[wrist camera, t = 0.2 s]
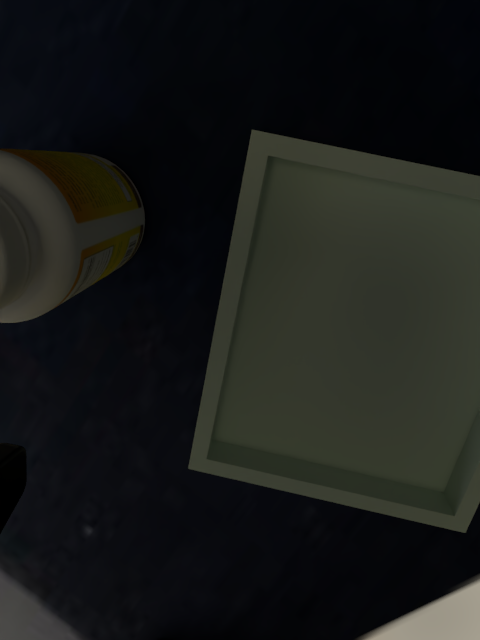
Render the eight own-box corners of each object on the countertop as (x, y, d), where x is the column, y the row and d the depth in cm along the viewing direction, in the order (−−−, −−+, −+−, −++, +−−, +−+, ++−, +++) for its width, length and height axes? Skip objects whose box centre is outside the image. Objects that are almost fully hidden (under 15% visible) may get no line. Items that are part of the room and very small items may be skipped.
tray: (448, 497, 25) (465, 532, 22) (197, 440, 25) (188, 468, 23) (577, 199, 19) (618, 204, 17) (256, 133, 20) (251, 129, 17)
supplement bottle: (32, 148, 21) (-186, 134, 11) (149, 158, 21) (26, 150, 11) (40, 267, 23) (-142, 340, 13) (148, 277, 22) (42, 361, 13)
